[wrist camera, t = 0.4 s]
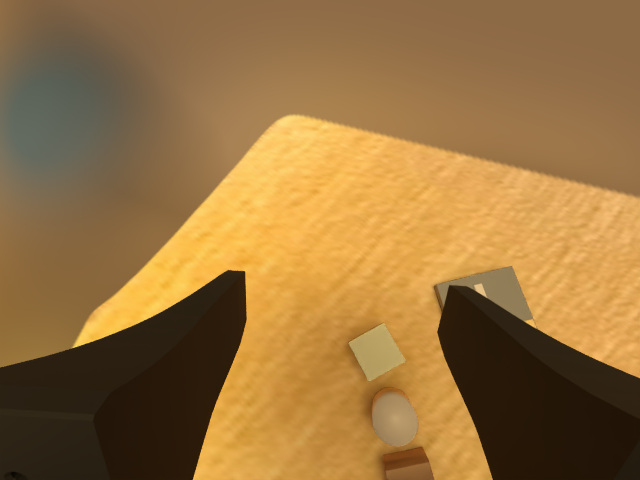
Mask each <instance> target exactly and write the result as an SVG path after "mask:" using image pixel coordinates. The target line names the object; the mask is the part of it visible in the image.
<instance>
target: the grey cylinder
mask: <svg viewBox="0 0 640 480" xmlns="http://www.w3.org/2000/svg"><path fill="white" fill-rule="evenodd" d="M372 421H373V427H374V430H375V432H376V434H377V435H378V437H379V438H380V439H381V440H382V441H383V442H385V443H386V444H388V445H391V446H404V445H406V444H408V443H409V442H411V441H412V440H413V438H414V437H415V435H416V433H417V430H418V418H417V415H416V412H415V410H414V408H413V407H412V405H411V403H410V401H409V399H408V398H407V396H406V395H405V394H404V393H403V392H402V391H400V390H399V389H396V388H391V387H388V388H384V389H382V390H380V391H379V392H378V393H377V394H376V395H375V397H374V399H373V402H372Z"/></svg>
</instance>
